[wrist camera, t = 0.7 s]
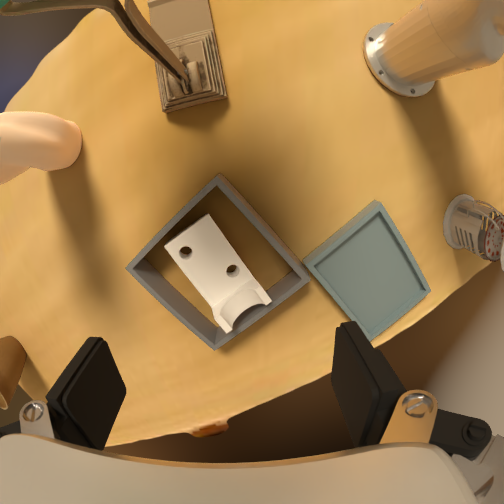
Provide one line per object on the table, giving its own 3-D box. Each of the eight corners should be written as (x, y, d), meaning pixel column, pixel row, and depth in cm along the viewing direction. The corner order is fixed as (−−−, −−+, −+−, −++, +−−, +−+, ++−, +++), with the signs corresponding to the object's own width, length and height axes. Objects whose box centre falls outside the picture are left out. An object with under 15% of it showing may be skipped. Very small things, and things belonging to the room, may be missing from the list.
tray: (374, 199, 37) (380, 202, 35) (424, 285, 42) (431, 290, 39) (302, 259, 40) (305, 265, 38) (365, 334, 44) (369, 341, 42)
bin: (221, 173, 36) (216, 175, 32) (305, 266, 40) (310, 279, 36) (136, 256, 40) (125, 268, 36) (217, 333, 44) (214, 350, 40)
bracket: (257, 283, 42) (272, 300, 35) (219, 311, 42) (226, 333, 35) (206, 212, 39) (210, 215, 32) (166, 242, 38) (161, 252, 31)
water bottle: (96, 114, 33) (-65, 101, 6) (89, 173, 36) (-71, 219, 9) (48, 117, 32) (-94, 121, 6) (43, 171, 35) (-96, 211, 9)
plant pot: (-8, 332, 47) (-40, 364, 32) (9, 316, 45) (-30, 352, 30) (24, 375, 52) (-3, 411, 36) (46, 365, 49) (14, 408, 34)
